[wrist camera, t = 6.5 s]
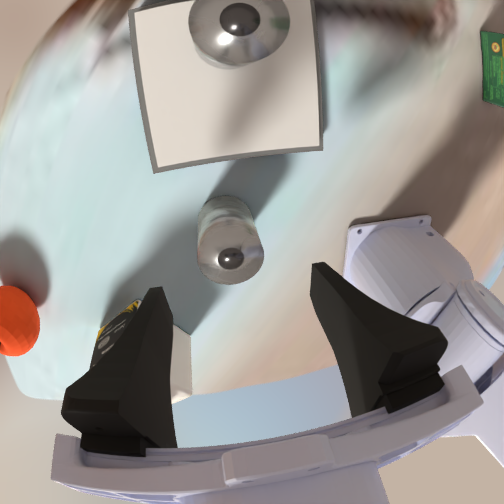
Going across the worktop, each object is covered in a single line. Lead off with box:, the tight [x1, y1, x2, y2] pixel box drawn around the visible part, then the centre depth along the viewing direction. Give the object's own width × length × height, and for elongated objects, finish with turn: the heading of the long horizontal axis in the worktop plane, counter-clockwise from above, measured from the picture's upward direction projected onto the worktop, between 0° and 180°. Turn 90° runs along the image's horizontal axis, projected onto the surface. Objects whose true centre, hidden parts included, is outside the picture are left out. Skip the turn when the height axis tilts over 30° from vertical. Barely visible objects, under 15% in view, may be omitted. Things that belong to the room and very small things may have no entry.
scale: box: [128, 0, 323, 174], centre depth 14 cm, size 11×13×3 cm
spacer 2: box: [197, 195, 264, 285], centre depth 19 cm, size 4×4×5 cm
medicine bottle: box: [89, 300, 192, 404], centre depth 22 cm, size 7×7×12 cm
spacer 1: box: [188, 0, 290, 69], centre depth 10 cm, size 4×4×5 cm
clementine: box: [0, 286, 40, 356], centre depth 19 cm, size 8×7×7 cm
